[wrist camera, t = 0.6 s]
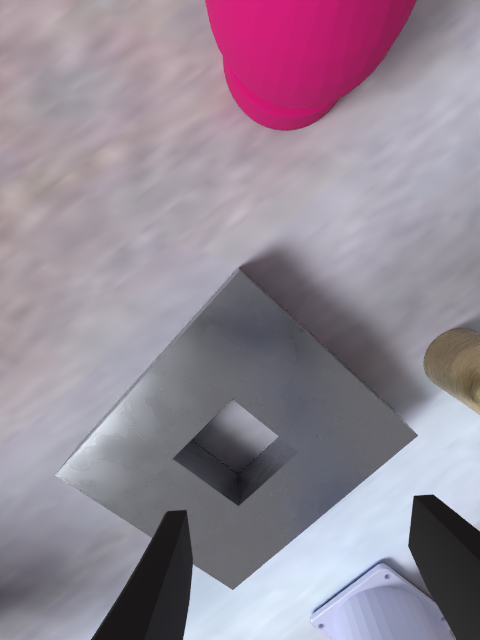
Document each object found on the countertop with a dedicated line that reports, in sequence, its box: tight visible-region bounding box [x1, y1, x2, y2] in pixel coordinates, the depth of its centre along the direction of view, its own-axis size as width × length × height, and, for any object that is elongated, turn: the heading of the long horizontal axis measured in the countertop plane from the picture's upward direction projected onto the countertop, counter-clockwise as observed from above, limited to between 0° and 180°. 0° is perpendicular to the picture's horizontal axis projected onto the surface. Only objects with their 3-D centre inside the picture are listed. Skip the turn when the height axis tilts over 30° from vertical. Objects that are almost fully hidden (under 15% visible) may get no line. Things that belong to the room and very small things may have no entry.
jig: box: [56, 267, 418, 590], centre depth 18 cm, size 14×16×2 cm
